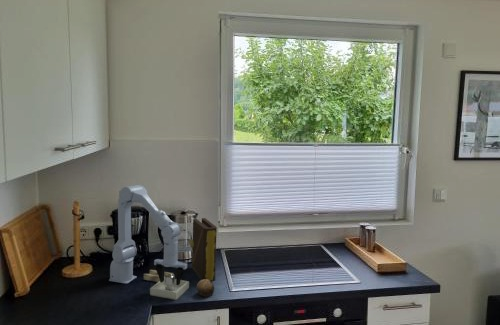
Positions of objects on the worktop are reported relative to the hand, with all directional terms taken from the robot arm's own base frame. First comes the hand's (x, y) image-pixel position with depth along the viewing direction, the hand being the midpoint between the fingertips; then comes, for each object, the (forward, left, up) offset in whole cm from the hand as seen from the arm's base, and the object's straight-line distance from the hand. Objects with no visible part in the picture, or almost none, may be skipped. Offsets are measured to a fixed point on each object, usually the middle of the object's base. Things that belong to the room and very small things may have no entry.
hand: (170, 282), depth 161 cm
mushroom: (+15, +3, -4) cm, 16 cm away
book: (+5, +24, -4) cm, 25 cm away
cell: (0, 0, -3) cm, 3 cm away
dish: (0, 0, -4) cm, 4 cm away
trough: (-11, +10, -4) cm, 15 cm away
